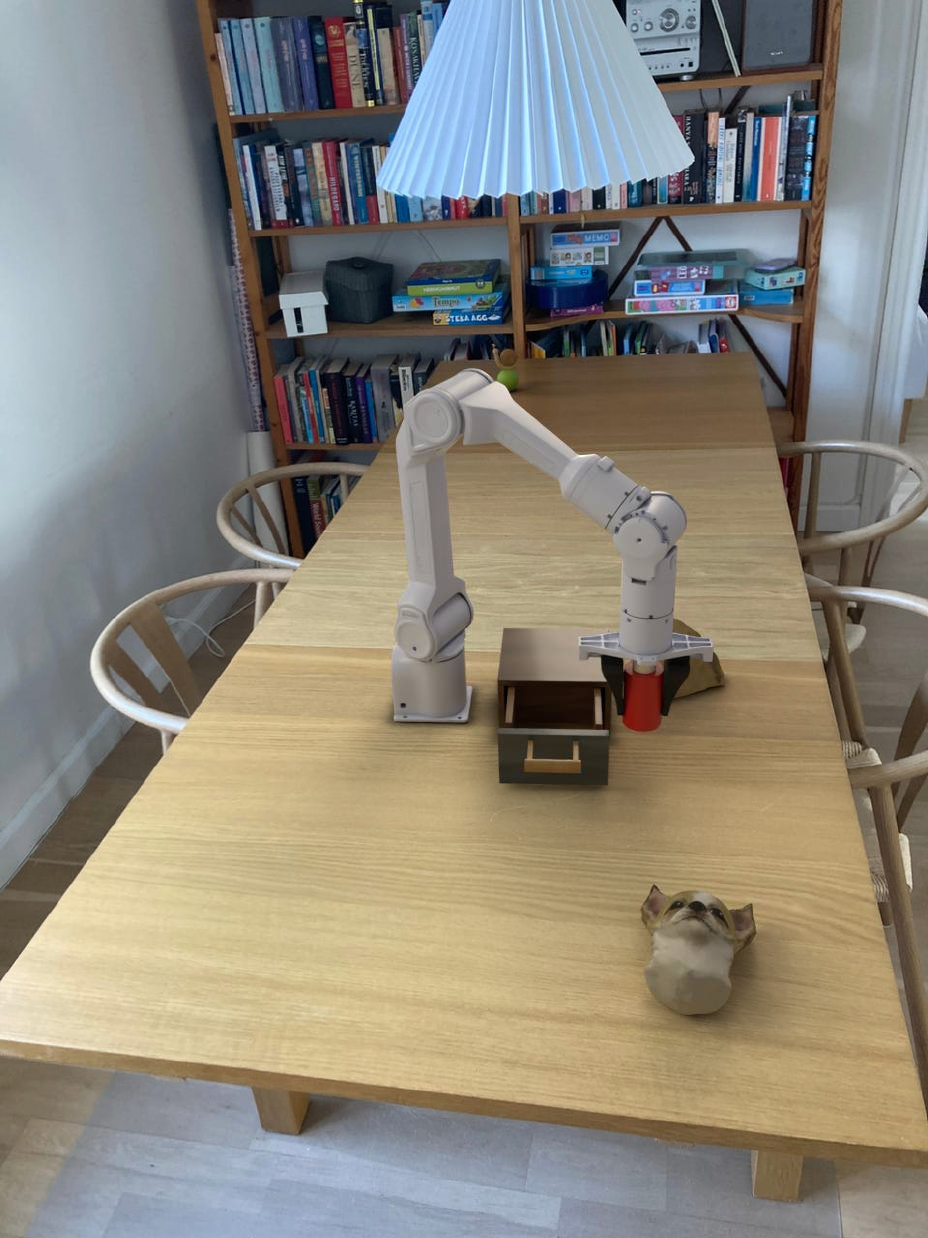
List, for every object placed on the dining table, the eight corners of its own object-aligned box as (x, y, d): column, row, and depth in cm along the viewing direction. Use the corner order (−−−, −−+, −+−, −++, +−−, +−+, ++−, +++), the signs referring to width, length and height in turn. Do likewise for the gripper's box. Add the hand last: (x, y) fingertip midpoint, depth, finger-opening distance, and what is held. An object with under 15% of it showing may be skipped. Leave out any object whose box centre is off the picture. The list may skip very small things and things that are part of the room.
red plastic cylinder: (623, 732, 114) (625, 668, 110) (621, 710, 118) (623, 647, 114) (662, 732, 114) (666, 668, 110) (659, 710, 118) (663, 647, 114)
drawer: (609, 814, 111) (611, 763, 107) (496, 811, 112) (494, 760, 109) (604, 727, 125) (606, 679, 122) (504, 725, 126) (503, 678, 123)
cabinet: (610, 742, 124) (612, 681, 119) (499, 740, 125) (497, 680, 121) (606, 686, 135) (608, 628, 130) (504, 684, 136) (503, 627, 132)
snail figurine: (490, 389, 255) (489, 341, 249) (514, 386, 257) (513, 338, 251) (497, 395, 251) (496, 346, 245) (521, 392, 252) (521, 343, 246)
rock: (732, 652, 136) (658, 634, 138) (740, 628, 128) (662, 609, 131) (714, 727, 133) (639, 707, 135) (721, 707, 125) (641, 686, 127)
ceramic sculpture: (623, 945, 84) (650, 836, 97) (617, 1020, 88) (644, 906, 101) (755, 973, 81) (765, 857, 94) (743, 1050, 85) (755, 928, 98)
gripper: (579, 624, 106) (577, 730, 113) (720, 625, 105) (710, 732, 111) (578, 592, 112) (577, 695, 119) (712, 593, 111) (703, 697, 117)
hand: (641, 711), depth 116 cm, fingers closed on red plastic cylinder, 4 cm apart
